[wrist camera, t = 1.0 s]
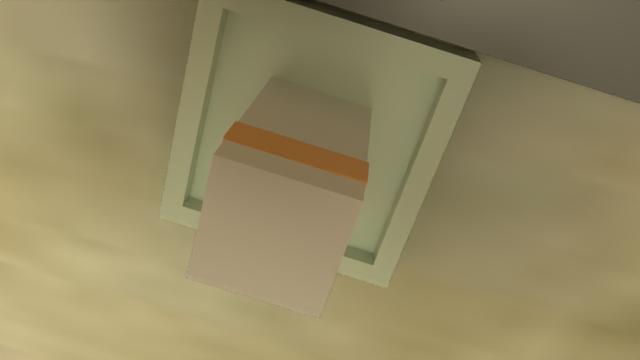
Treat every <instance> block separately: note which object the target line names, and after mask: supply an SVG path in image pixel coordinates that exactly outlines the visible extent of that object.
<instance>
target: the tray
mask: <svg viewBox="0 0 640 360" xmlns="http://www.w3.org/2000/svg"><path fill="white" fill-rule="evenodd" d="M481 64H482V63H481V61H480V59H479V58H478V56H477V55H476V53H475V52H473V51H470V50H467V49H463V48H460V47H457V46H454V45H451V44H448V43H445V42H441V41H438V40H435V39H432V38H429V37H426V36H423V35H420V34H416V33H413V32H410V31H407V30H404V29H401V28H398V27H394V26H391V25H388V24H385V23H382V22H379V21H376V20H372V19H369V18H366V17H363V16H360V15H357V14H354V13H351V12H347V11H344V10H341V9H338V8H335V7H332V6H329V5H325V4H322V3H319V2H316V1H313V0H198V5H197V11H196V16H195V21H194V27H193V32H192V38H191V43H190V49H189V54H188V59H187V65H186V70H185V76H184V81H183V87H182V92H181V97H180V103H179V108H178V114H177V119H176V125H175V130H174V135H173V141H172V146H171V152H170V157H169V163H168V168H167V173H166V179H165V184H164V190H163V195H162V201H161V206H160V212H159V217H158V218H160V219H163V220H167V221H170V222H173V223H176V224H180V225H183V226H186V227H189V228H193V229H196V230H197V226H198V221H199V217H200V212H201V208H202V203H203V199H204V194H205V190H206V185H207V181H208V176H209V172H210V167H211V163H212V158H213V154H214V153H215V152H216V150H217V149H218V148H219V146H220V145H221V144H222V140H223V136H224V135H225V134H226V133H227V131H228V130H229V129H230V127H231V126H232V125H233V123H234V122H235V121H239V120H240V118H241V117H242V116H243V114H244V113H245V112H246V110H247V109H248V108H249V106H250V105H251V103H252V102H253V101H254V99H255V98H256V97H257V95H258V94H259V93H260V91H261V90H262V89H263V87H264V86H265V85H266V83H267V82H268V81H269V79H270V78H271V77H273V78H276V79H279V80H282V81H286V82H289V83H292V84H295V85H298V86H301V87H305V88H308V89H311V90H314V91H317V92H320V93H324V94H327V95H330V96H333V97H336V98H340V99H343V100H346V101H349V102H352V103H355V104H359V105H362V106H365V107H368V108H371V109H372V113H371V124H370V135H369V146H368V157H367V162H369V173H368V183H367V185H366V188H365V191H364V201H363V204H362V207H361V210H360V212H359V215H358V218H357V220H356V223H355V226H354V229H353V231H352V234H351V237H350V239H349V242H348V245H347V247H346V250H345V253H344V256H343V258H342V261H341V264H340V266H339V269H338V272H337V273H338V274H342V275H345V276H348V277H351V278H355V279H358V280H361V281H364V282H368V283H371V284H374V285H377V286H381V287H384V288H387V286H388V283H389V281H390V279H391V276H392V274H393V272H394V269H395V267H396V265H397V262H398V260H399V258H400V255H401V253H402V250H403V248H404V246H405V243H406V241H407V239H408V236H409V234H410V232H411V229H412V227H413V225H414V222H415V220H416V217H417V215H418V213H419V210H420V208H421V206H422V203H423V201H424V199H425V196H426V194H427V191H428V189H429V187H430V184H431V182H432V180H433V177H434V175H435V173H436V170H437V168H438V166H439V163H440V161H441V158H442V156H443V154H444V151H445V149H446V147H447V144H448V142H449V140H450V137H451V135H452V133H453V130H454V128H455V125H456V123H457V121H458V118H459V116H460V114H461V111H462V109H463V107H464V104H465V102H466V99H467V97H468V95H469V92H470V90H471V88H472V85H473V83H474V81H475V78H476V76H477V74H478V71H479V69H480V66H481Z"/></svg>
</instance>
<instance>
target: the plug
mask: <svg viewBox="0 0 640 360" xmlns="http://www.w3.org/2000/svg"><path fill="white" fill-rule="evenodd" d="M371 113H372V109H371V108H368V107H365V106H362V105H359V104H355V103H352V102H349V101H346V100H343V99H340V98H336V97H333V96H330V95H327V94H324V93H320V92H317V91H314V90H311V89H308V88H305V87H301V86H298V85H295V84H292V83H289V82H286V81H282V80H279V79H276V78H273V77H271V78H270V79H269V81H268V82H267V83H266V85H265V86H264V87H263V89H262V90H261V91H260V93H259V94H258V95H257V97H256V98H255V99H254V101H253V102H252V103H251V105H250V106H249V108H248V109H247V110H246V112H245V113H244V114H243V116H242V117H241V118H240V120H239V121H235V122H234V123H233V125H232V126H231V127H230V129H229V130H228V131H227V133H226V134H225V135H224V136H223V140H222V144H221V145H220V146H219V148H218V149H217V150H216V152H215V153H214V154H213V158H212V163H211V167H210V172H209V176H208V181H207V185H206V190H205V194H204V199H203V203H202V208H201V212H200V217H199V221H198V226H197V230H196V235H195V239H194V244H193V248H192V253H191V257H190V262H189V266H188V271H187V276H186V278H188V279H191V280H195V281H198V282H201V283H204V284H208V285H211V286H214V287H217V288H221V289H224V290H227V291H230V292H234V293H237V294H240V295H243V296H247V297H250V298H253V299H257V300H260V301H263V302H266V303H270V304H273V305H276V306H279V307H283V308H286V309H289V310H292V311H296V312H299V313H302V314H305V315H309V316H312V317H315V318H318V319H320V318H321V315H322V312H323V310H324V307H325V304H326V302H327V299H328V296H329V294H330V291H331V288H332V285H333V283H334V280H335V277H336V275H337V272H338V269H339V266H340V264H341V261H342V258H343V256H344V253H345V250H346V247H347V245H348V242H349V239H350V237H351V234H352V231H353V229H354V226H355V223H356V220H357V218H358V215H359V212H360V210H361V207H362V204H363V201H364V191H365V188H366V185H367V183H368V173H369V162H367V157H368V146H369V135H370V124H371Z"/></svg>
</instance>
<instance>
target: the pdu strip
mask: <svg viewBox="0 0 640 360" xmlns="http://www.w3.org/2000/svg"><path fill="white" fill-rule="evenodd" d="M317 1H320V2H323V3H326V4H329V5H332V6H335V7H339V8H342V9H345V10H348V11H351V12H354V13H357V14H361V15H364V16H367V17H370V18H373V19H376V20H379V21H383V22H386V23H389V24H392V25H395V26H398V27H401V28H404V29H408V30H411V31H414V32H417V33H420V34H423V35H426V36H430V37H433V38H436V39H439V40H442V41H445V42H448V43H451V44H455V45H458V46H461V47H464V48H467V49H470V50H473V51H477V52H480V53H483V54H486V55H489V56H492V57H495V58H499V59H502V60H505V61H508V62H511V63H514V64H517V65H520V66H524V67H527V68H530V69H533V70H536V71H539V72H542V73H546V74H549V75H552V76H555V77H558V78H561V79H564V80H567V81H571V82H574V83H577V84H580V85H583V86H586V87H589V88H593V89H596V90H599V91H602V92H605V93H608V94H611V95H615V96H618V97H621V98H624V99H627V100H630V101H633V102H636V103H640V0H317Z"/></svg>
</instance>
